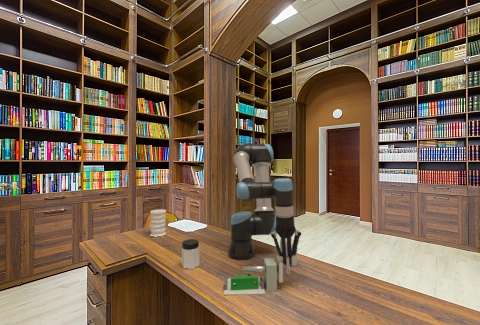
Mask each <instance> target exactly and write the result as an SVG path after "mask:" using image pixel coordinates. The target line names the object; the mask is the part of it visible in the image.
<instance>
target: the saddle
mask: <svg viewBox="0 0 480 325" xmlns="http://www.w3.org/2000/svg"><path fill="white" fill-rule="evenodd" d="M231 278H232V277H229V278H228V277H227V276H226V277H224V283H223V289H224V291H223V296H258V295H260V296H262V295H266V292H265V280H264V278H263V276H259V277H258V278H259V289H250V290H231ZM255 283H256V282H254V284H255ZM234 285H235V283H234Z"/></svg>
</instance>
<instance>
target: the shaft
mask: <svg viewBox="0 0 480 325" xmlns="http://www.w3.org/2000/svg"><path fill="white" fill-rule="evenodd" d="M275 263H276V265H277V281H278V282H279V283H284V264H283V261H282V260H281V258H280V256H279V255H276V256H275ZM264 272H266V266H264V265H243V266H242V273H243V274H244V273H245V274H247V273H248V274H251V273H264Z"/></svg>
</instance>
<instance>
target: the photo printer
mask: <svg viewBox="0 0 480 325" xmlns="http://www.w3.org/2000/svg"><path fill="white" fill-rule="evenodd" d="M285 240H286V241H285V244H286V255H288V254H287V238H285ZM293 241H294V239H292V238H291V251H292V246H293ZM279 247H280V250H281V252H282V245H281V238H280V239H279ZM280 258H281V260H282V262H283V257H282V256H281V257H280ZM291 259H292V264H291V265H290V266H292V267H296V266H297V265H298V264H299V263H298V250H297V251H296V255H295V256H292V258H291Z"/></svg>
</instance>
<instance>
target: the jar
mask: <svg viewBox="0 0 480 325" xmlns="http://www.w3.org/2000/svg"><path fill="white" fill-rule="evenodd" d="M199 243H200V241H199V240H198V239H194V238H190V239H185V240H183V241H182V242H181V267H182V266H183V267H182V268H183V269H184V268H188V269H187V270H194V269H196V268H197V266H198V267H199V266H200V245H199ZM195 267H196V268H195ZM193 268H194V269H193Z"/></svg>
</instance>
